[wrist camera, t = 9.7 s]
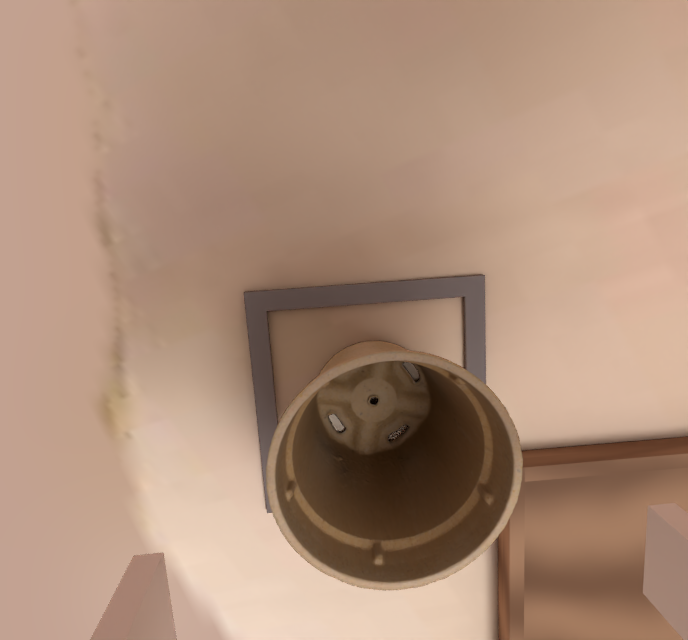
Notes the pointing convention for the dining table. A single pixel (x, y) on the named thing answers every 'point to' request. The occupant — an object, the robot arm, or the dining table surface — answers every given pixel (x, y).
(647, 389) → the dining table surface
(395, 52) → the dining table surface
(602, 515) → the brown divided tray
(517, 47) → the dining table surface
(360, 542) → the flower pot
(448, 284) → the square
